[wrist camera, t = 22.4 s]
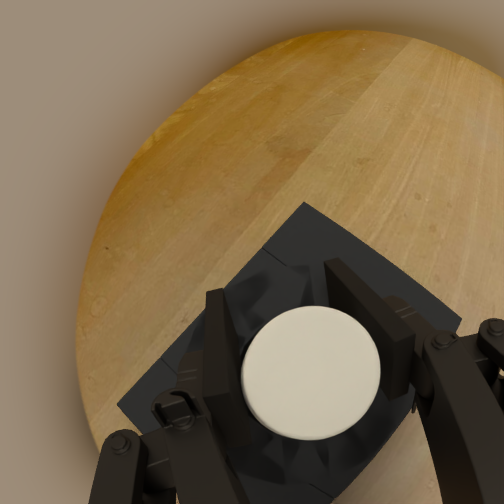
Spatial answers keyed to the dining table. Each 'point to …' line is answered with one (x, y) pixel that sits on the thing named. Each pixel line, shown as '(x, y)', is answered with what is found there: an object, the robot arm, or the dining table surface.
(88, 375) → the dining table surface
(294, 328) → the pill bottle
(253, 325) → the black rectangular holder
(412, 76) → the dining table surface
